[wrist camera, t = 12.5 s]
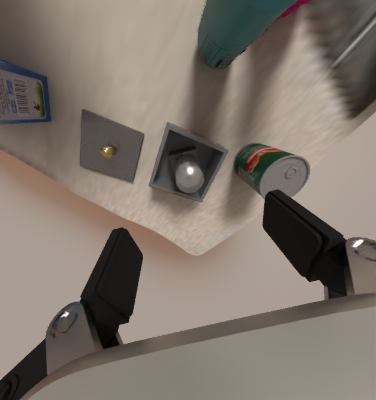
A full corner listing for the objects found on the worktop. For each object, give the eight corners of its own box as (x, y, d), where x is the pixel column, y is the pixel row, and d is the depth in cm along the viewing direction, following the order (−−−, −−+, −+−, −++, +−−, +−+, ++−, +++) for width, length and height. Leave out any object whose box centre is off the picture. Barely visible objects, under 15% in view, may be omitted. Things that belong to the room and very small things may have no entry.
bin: (152, 175, 31) (148, 186, 26) (167, 121, 26) (166, 123, 21) (197, 189, 34) (201, 202, 29) (219, 144, 29) (228, 150, 24)
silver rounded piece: (169, 152, 28) (167, 168, 20) (194, 145, 28) (204, 158, 20) (175, 175, 31) (177, 199, 22) (199, 170, 31) (209, 191, 22)
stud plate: (82, 164, 28) (70, 170, 25) (84, 109, 24) (71, 108, 21) (133, 180, 31) (128, 187, 28) (144, 133, 27) (140, 136, 23)
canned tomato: (250, 183, 34) (280, 209, 25) (226, 167, 32) (249, 190, 22) (275, 154, 31) (320, 172, 22) (251, 134, 29) (289, 144, 19)
